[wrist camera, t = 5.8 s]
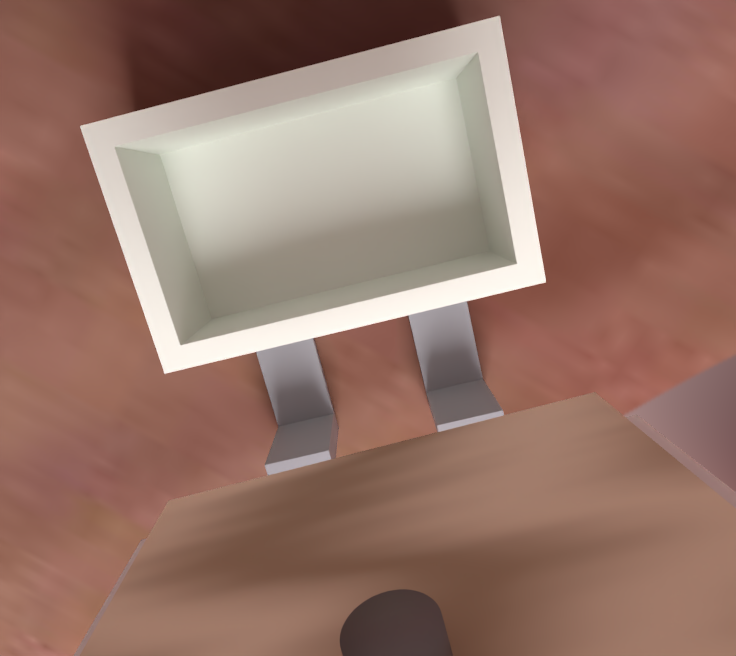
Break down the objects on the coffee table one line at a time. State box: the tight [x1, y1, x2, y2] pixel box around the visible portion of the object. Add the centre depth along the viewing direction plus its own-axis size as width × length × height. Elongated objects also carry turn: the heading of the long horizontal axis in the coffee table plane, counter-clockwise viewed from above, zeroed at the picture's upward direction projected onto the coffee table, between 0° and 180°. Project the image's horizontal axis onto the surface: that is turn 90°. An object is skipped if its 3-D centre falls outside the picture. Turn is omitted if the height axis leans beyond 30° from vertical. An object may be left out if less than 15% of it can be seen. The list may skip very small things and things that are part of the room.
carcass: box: [80, 16, 546, 475], centre depth 26 cm, size 16×16×6 cm
